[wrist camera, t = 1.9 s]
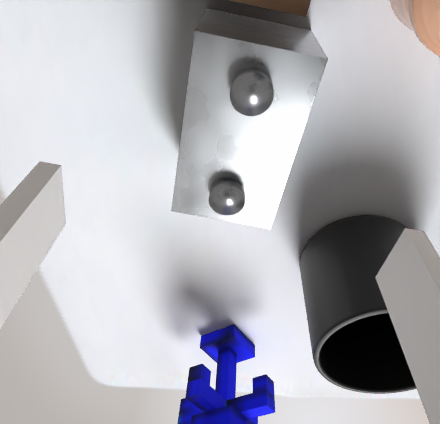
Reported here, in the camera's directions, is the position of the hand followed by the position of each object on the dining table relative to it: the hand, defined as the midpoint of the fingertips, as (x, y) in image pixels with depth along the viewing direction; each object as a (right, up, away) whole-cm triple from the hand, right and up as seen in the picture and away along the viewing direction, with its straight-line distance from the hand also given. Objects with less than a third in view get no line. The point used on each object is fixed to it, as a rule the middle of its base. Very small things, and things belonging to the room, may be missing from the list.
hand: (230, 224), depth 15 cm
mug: (+12, -4, +18) cm, 22 cm away
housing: (+1, +8, +10) cm, 12 cm away
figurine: (0, -13, +25) cm, 28 cm away
